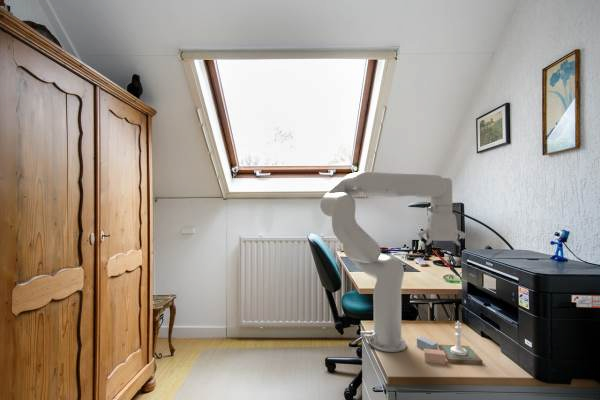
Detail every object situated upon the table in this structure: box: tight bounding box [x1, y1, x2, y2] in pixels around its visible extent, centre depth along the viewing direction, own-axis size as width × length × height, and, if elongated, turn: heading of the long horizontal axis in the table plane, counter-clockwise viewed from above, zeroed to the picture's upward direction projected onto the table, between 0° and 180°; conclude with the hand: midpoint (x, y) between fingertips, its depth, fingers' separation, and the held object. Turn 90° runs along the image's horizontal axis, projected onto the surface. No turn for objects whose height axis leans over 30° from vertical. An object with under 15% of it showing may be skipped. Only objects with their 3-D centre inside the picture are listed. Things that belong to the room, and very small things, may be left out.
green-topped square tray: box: [438, 344, 483, 365], centre depth 102 cm, size 10×10×1 cm
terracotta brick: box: [423, 349, 447, 365], centre depth 99 cm, size 6×3×3 cm, turn 76°
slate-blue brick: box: [416, 336, 439, 351], centre depth 107 cm, size 6×3×3 cm, turn 31°
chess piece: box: [450, 320, 467, 355], centre depth 102 cm, size 5×5×10 cm
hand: (441, 255), depth 119 cm, fingers open, 9 cm apart
